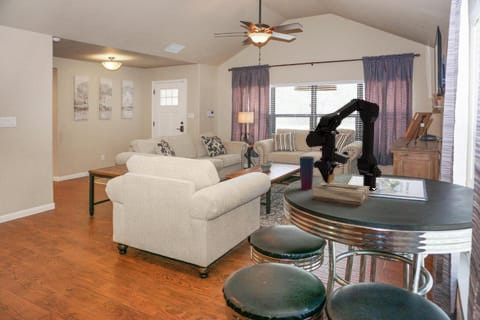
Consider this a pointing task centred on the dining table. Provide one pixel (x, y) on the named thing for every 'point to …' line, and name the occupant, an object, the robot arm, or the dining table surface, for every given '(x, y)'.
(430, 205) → the dining table surface
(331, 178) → the peg
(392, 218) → the dining table surface
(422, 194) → the dining table surface
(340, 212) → the dining table surface
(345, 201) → the keyhole track
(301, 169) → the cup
